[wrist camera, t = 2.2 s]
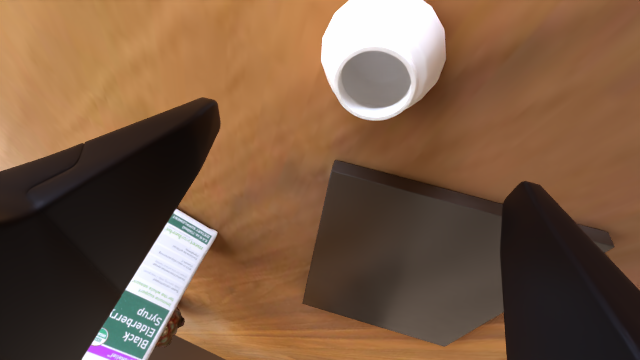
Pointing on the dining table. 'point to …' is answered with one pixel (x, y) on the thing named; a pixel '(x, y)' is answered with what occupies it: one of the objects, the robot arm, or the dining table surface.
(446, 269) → the serving board
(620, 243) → the dining table surface
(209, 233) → the syrup box
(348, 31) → the lidless jar
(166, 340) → the dragon fruit
